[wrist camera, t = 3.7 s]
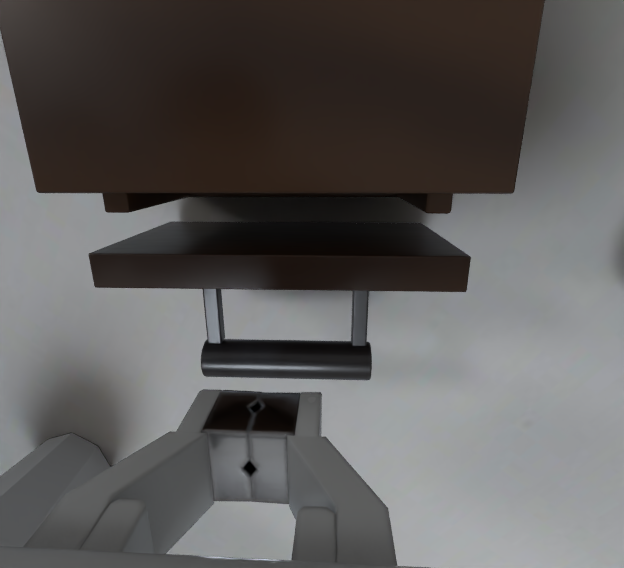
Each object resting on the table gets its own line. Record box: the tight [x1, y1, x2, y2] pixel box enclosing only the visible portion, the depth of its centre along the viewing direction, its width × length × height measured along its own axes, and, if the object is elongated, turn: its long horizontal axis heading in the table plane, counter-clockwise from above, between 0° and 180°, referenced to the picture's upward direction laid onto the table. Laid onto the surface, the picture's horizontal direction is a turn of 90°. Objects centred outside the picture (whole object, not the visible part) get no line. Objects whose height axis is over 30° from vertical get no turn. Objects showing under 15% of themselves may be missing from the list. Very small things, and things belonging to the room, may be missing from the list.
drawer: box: [89, 193, 471, 380], centre depth 14 cm, size 19×12×7 cm, turn 0°
